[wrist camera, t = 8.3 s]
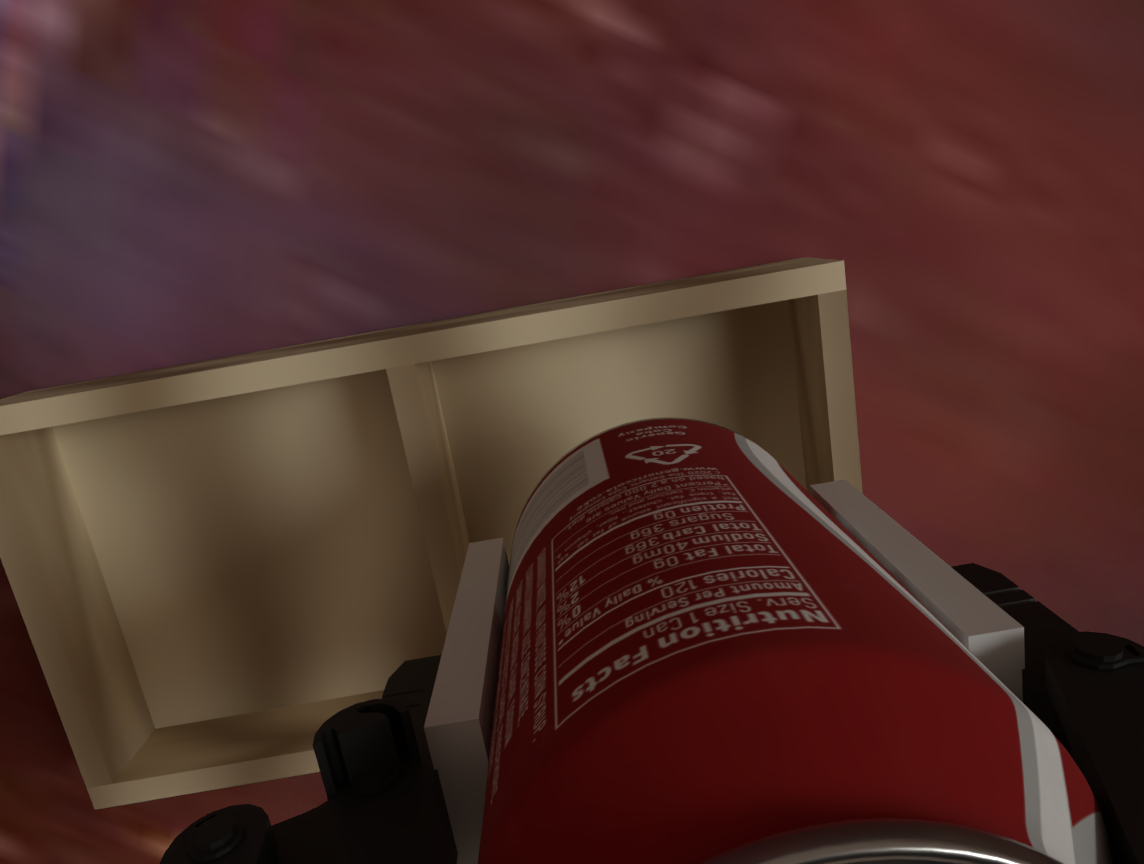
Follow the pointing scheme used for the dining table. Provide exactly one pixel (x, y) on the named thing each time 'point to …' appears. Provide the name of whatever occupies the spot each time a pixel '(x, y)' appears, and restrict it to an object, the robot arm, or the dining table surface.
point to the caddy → (355, 500)
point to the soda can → (745, 684)
